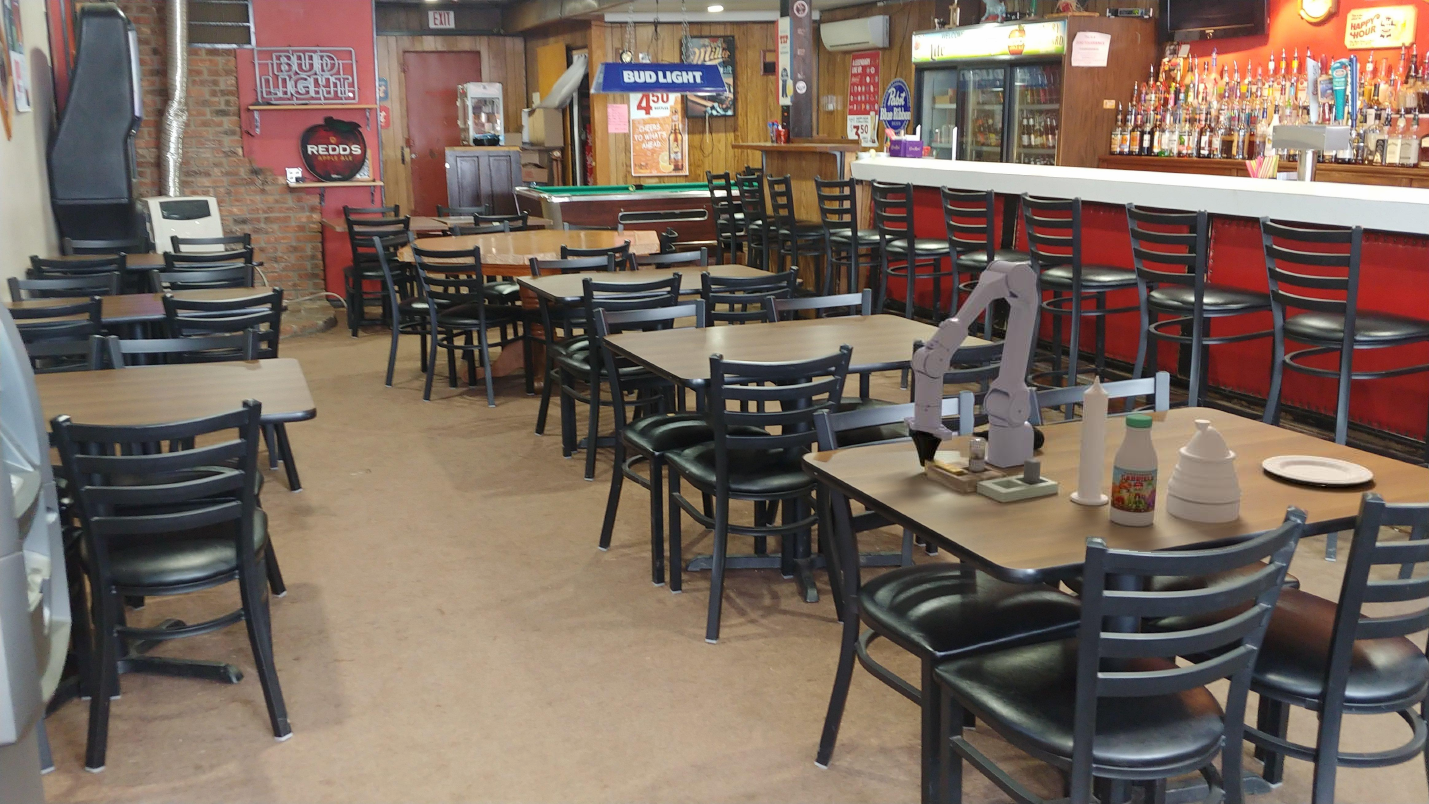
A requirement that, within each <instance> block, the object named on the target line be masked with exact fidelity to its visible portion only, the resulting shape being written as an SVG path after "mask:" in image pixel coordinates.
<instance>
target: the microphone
mask: <svg viewBox="0 0 1429 804" xmlns="http://www.w3.org/2000/svg"><path fill="white" fill-rule="evenodd" d="M1032 428H1033V431H1034V445H1033V450H1034V451H1036V449H1037V450H1040V449H1041V448H1042V447H1043V446H1044V443H1045V434H1044V433H1043V431H1041V430H1040V429H1038V428H1037V427H1035V426H1032ZM972 435H973V436H974V437H975V436H976V437H980V438H984V439H986V441H988V437H989V429H988V430H987V429H985V430H982V431H973V432H972Z"/></svg>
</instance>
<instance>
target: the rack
mask: <svg viewBox="0 0 1429 804" xmlns="http://www.w3.org/2000/svg"><path fill="white" fill-rule="evenodd" d="M1041 465H1042V463H1041V460H1039V459H1034V458H1033V459H1026V460H1024V464H1023V473H1022V474H1018V475H1012V476H1007V477H1005V478H999V479H993V480H987V481H981V482H977V491H976V493H979V494H982V495H984V496H986V497H989V498H991V499H993V500H995V501H998V502H1000V503H1007V502H1013V501H1017V500H1025V499H1030V498H1035V497H1041V496H1042V497H1043V496H1046V495H1047V496H1048V495H1053V494H1058V493H1059V485H1060V484H1059V482H1057V481H1053V480H1051V479H1048V478H1045V477H1043V476H1041Z"/></svg>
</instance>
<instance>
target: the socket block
mask: <svg viewBox="0 0 1429 804" xmlns="http://www.w3.org/2000/svg"><path fill="white" fill-rule="evenodd" d="M946 463H947V462H946ZM947 464H949V465H952V466H954V467H957V468H959V469H962V470H964V473H963V476H959V477H958V476H956V475H953V474H951V473H949V472H946V471H944V470H941V469H939V468H936V467H934V466H928V475H927V479H930V480H932V481H934V482H937V483H939V484H941V485H944V486H946V487H948V488H951V489H952V490H955V491H958V492H961V493H962V494H965V493H970V492H977V482H981V481H987V480H993V479H999V478H1005V477H1008V473H1006V472H1003V471H1001V470H999V469H998V470H997V469H995V468H992V467H990V466H988V465H985V464H984V472H981V473H975V474H974V473H972V472H969V471H968V467H969V459H965V460H959V461H954V462H948V463H947Z"/></svg>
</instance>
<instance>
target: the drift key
mask: <svg viewBox="0 0 1429 804" xmlns="http://www.w3.org/2000/svg"><path fill="white" fill-rule="evenodd" d="M928 466H934V467H936V468H939V469H941V470H944V471H946V472H949V473H951V474H953V475H956V476H958V477H959V476H963V473H964V470H962V469H959V468H957V467H954V466H952V465H949V464H947V462H944V461H942V460H939V459H938V458H937V459H936V458H934V459H927V460H925V467H924V474H925V475H927V476H928Z"/></svg>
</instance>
